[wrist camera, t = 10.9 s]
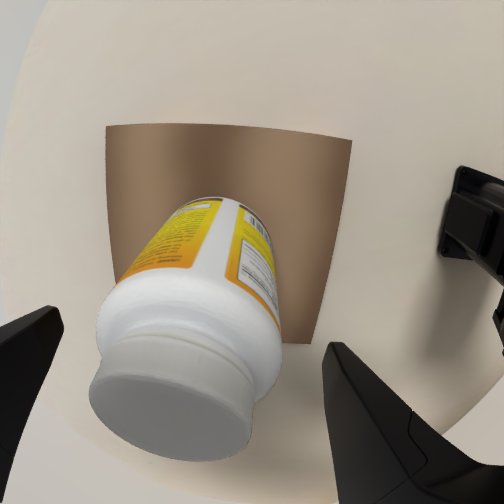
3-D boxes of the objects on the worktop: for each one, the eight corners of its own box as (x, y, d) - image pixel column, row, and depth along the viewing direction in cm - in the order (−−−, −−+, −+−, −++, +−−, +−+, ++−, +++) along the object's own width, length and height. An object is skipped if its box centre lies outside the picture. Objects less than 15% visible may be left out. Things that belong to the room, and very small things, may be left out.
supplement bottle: (152, 270, 16) (64, 425, 6) (185, 175, 13) (51, 291, 4) (245, 307, 16) (233, 484, 7) (292, 222, 14) (340, 399, 5)
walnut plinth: (336, 137, 15) (352, 140, 12) (305, 315, 20) (310, 343, 17) (129, 124, 15) (106, 126, 12) (138, 298, 20) (122, 323, 17)
